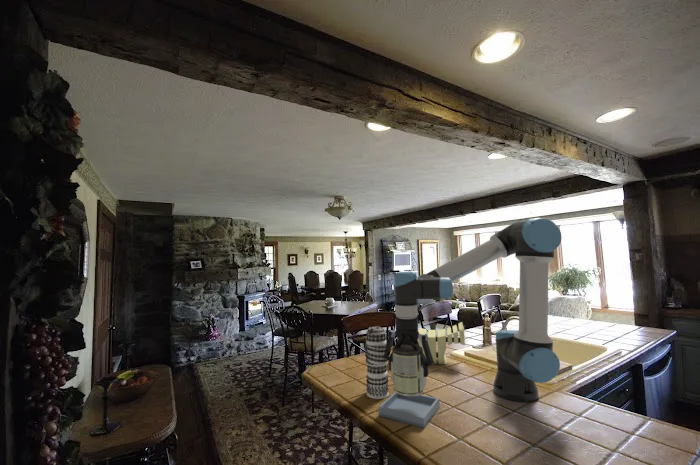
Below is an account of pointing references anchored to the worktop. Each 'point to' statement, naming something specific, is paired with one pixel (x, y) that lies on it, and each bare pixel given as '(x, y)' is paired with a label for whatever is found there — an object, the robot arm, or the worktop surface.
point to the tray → (410, 409)
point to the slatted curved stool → (442, 341)
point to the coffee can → (407, 370)
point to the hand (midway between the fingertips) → (408, 383)
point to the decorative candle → (376, 363)
